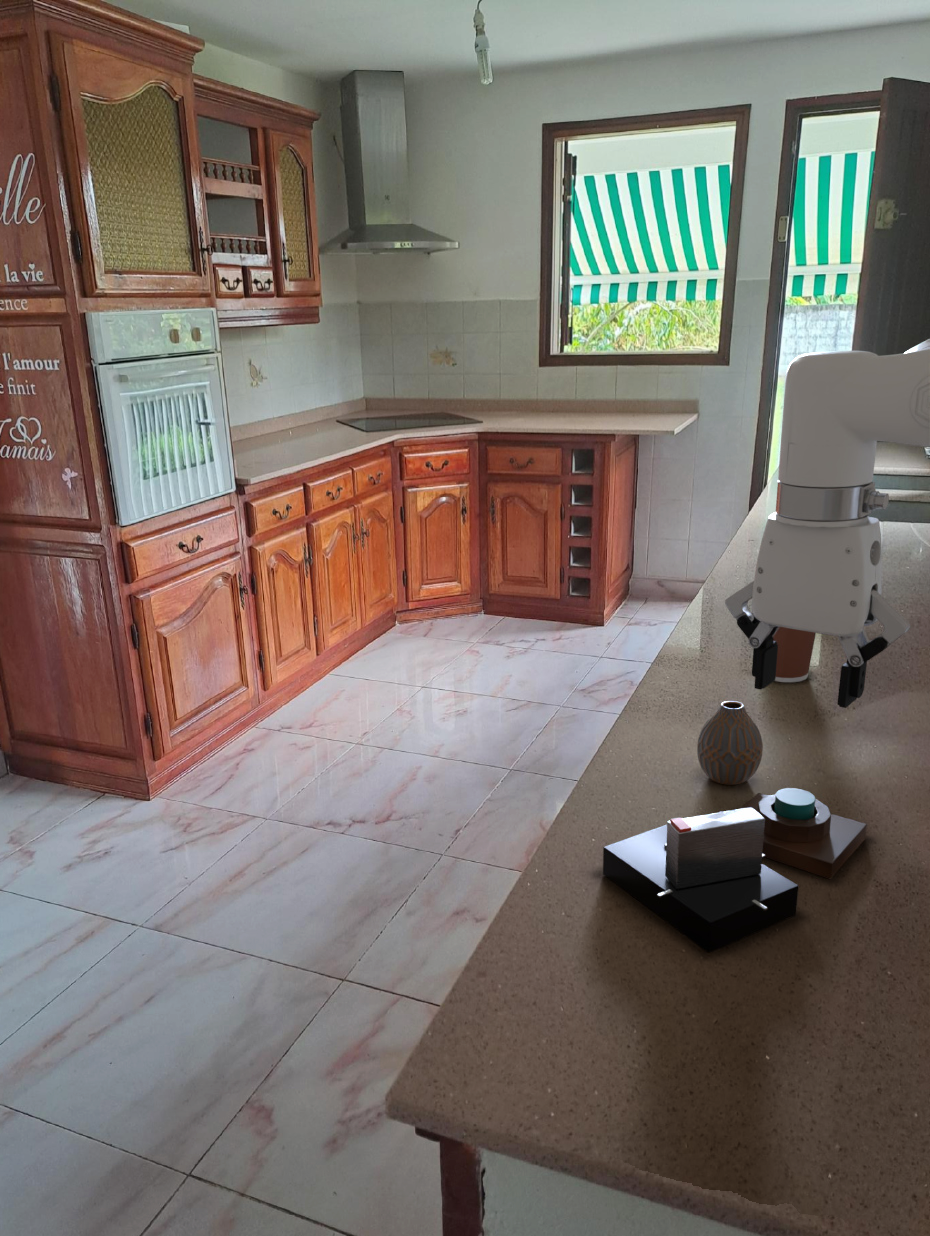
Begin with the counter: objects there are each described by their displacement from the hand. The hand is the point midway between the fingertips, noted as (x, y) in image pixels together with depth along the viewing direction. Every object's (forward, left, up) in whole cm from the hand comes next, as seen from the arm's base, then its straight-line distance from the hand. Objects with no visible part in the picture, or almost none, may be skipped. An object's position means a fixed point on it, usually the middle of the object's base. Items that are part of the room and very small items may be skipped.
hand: (805, 692), depth 89 cm
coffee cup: (+19, -43, -16) cm, 50 cm away
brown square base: (0, 0, -16) cm, 16 cm away
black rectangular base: (+3, +14, -16) cm, 21 cm away
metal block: (+1, +15, -13) cm, 19 cm away
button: (0, 0, -13) cm, 13 cm away
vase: (+11, -9, -16) cm, 21 cm away
